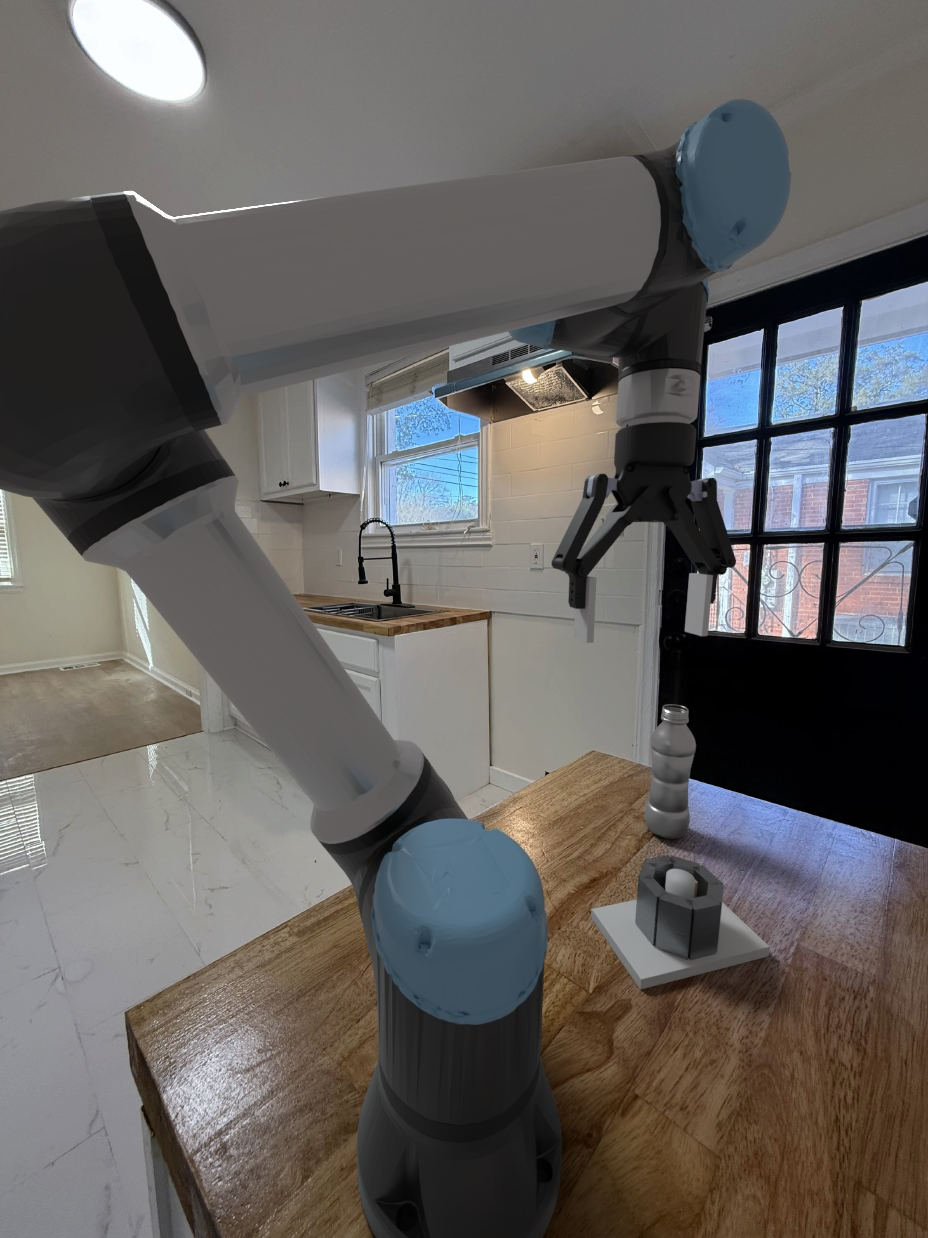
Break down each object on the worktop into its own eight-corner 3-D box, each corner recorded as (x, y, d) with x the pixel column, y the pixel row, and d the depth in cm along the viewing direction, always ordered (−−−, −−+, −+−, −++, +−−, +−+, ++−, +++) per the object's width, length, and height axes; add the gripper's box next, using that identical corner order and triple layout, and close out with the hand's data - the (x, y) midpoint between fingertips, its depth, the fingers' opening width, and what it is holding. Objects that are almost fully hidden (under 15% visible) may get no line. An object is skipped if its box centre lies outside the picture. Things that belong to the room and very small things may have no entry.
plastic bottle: (638, 835, 77) (646, 710, 74) (650, 815, 83) (658, 698, 79) (683, 850, 74) (694, 720, 70) (692, 828, 79) (703, 706, 76)
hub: (668, 966, 53) (673, 915, 52) (622, 908, 61) (625, 863, 60) (736, 949, 55) (741, 899, 54) (683, 895, 63) (687, 851, 62)
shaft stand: (640, 989, 51) (645, 924, 50) (591, 917, 61) (594, 861, 59) (768, 956, 55) (775, 895, 54) (703, 894, 65) (708, 840, 64)
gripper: (555, 409, 43) (547, 651, 47) (789, 426, 50) (766, 637, 53) (523, 426, 50) (518, 635, 54) (731, 439, 57) (714, 625, 60)
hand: (641, 637), depth 54 cm, fingers open, 13 cm apart
